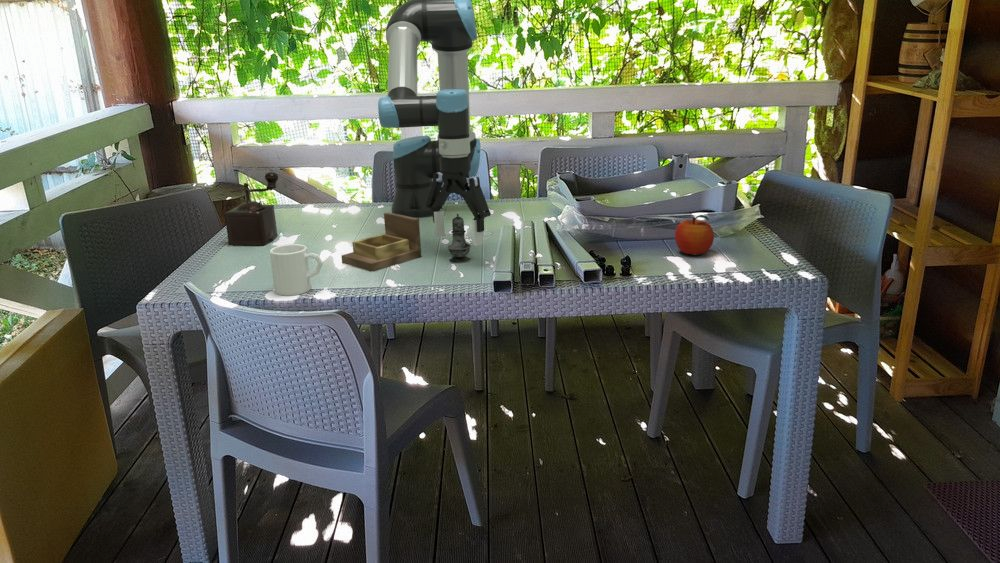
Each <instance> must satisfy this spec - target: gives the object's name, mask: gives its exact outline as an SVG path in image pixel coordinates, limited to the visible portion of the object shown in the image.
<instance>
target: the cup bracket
mask: <svg viewBox="0 0 1000 563" xmlns="http://www.w3.org/2000/svg"><path fill="white" fill-rule="evenodd" d="M383 222H384V232H385V233H382V234H378V235H377V234H376V235H374V236H370V237H366V238H363V239H358V240H356V241H354V240H353V241H352V242H351V243H352V252H349V253H346V254H342V255H341V256H340V257H341V263H342V264H344V265H347V266H350V267H351V266H352V267H354V268H358V269H362V270H364V269H365V271H368V272H371V271H373V272H376V271H379V270H382V269H385V268H389V267H393V266H396V265H399V264H402V263H406V262H408V261H411V260H414V259H419V258H422V248H421V247H422V246H421V244H422V243H421V232H420V230H421V229H420V218H419V217H417V218H413V217H408V216H404V215H399V214H394V213H392V212H389V211H388V212H384V213H383Z"/></svg>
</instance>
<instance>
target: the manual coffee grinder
mask: <svg viewBox="0 0 1000 563" xmlns="http://www.w3.org/2000/svg"><path fill="white" fill-rule="evenodd" d="M264 179H265V181H266V183H267V185H266V188H249V183H247V182H244V183H243V192H244V194H245V198H246V200H245V202H242V203H241V204H238V206H236V207H234V208H232V209H230V210H228V211H226V212H224V219H225V226H226V234H227V240H228V246H229V245H233V246H232V247H264V246H266V245H268V244H269V243H271V242H273V241H274V240H275V239H276V238H277V237H278V236H279V234H278V230H277V228H278V227H277V221H276V213H275V205H274V204H263V203H262V202H261V201H259V202H258V201H256V200H253V201H252V200H251V198H250V197H251V196H250V193H255V192H256V193H261V192H262V193H264V192H267V191H272V190H274V189H277V188H278V187H277V182H278V180H279V174H277V173H276V172H271V171H269V172H266V173H265V175H264Z"/></svg>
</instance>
